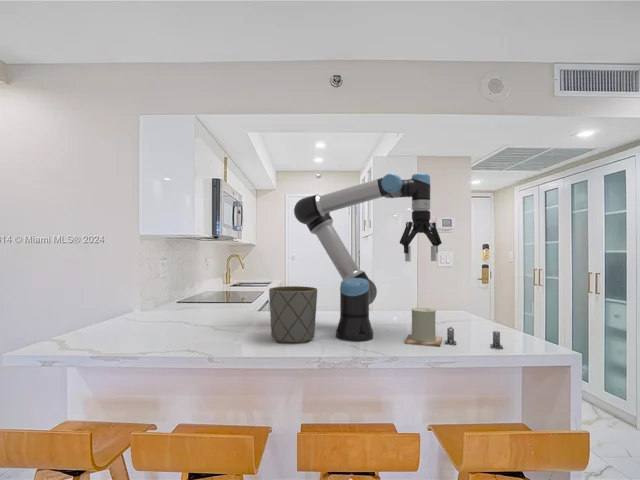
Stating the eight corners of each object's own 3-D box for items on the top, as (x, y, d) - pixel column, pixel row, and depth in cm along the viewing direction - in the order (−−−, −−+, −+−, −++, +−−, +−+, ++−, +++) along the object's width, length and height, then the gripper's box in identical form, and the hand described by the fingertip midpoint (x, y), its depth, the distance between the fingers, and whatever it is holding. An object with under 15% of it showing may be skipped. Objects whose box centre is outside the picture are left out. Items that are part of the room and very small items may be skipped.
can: (424, 343, 145) (424, 311, 145) (406, 338, 152) (406, 307, 152) (440, 339, 150) (440, 308, 150) (422, 335, 157) (422, 305, 158)
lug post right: (491, 349, 140) (491, 333, 140) (490, 345, 145) (490, 330, 145) (503, 350, 138) (503, 334, 139) (501, 346, 143) (501, 331, 143)
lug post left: (444, 344, 146) (444, 329, 146) (445, 341, 151) (445, 326, 151) (456, 345, 145) (456, 330, 145) (456, 341, 150) (456, 327, 150)
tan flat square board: (404, 343, 147) (404, 341, 147) (408, 336, 159) (408, 334, 159) (440, 346, 143) (440, 344, 143) (441, 338, 155) (441, 336, 155)
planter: (318, 344, 145) (318, 291, 145) (267, 345, 143) (267, 291, 144) (315, 333, 164) (315, 286, 164) (270, 333, 162) (270, 286, 163)
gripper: (402, 208, 154) (402, 261, 154) (450, 211, 164) (450, 261, 164) (391, 210, 161) (391, 261, 160) (437, 212, 171) (437, 260, 171)
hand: (421, 261), depth 162 cm, fingers open, 13 cm apart
